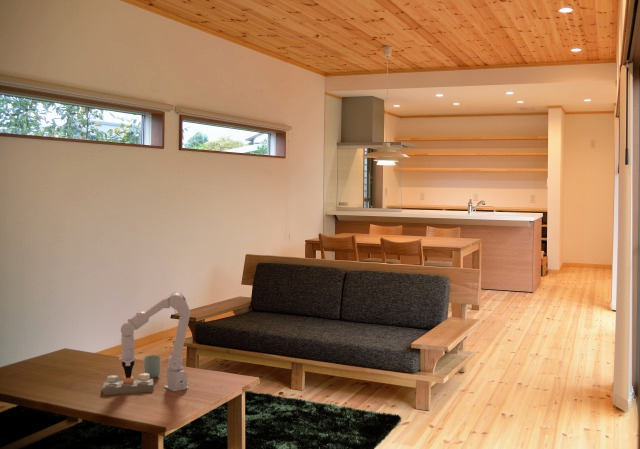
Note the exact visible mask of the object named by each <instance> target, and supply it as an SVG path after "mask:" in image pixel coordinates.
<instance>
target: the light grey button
mask: <svg viewBox="0 0 640 449" xmlns="http://www.w3.org/2000/svg"><path fill="white" fill-rule="evenodd" d="M118 381H119V375H114V374H112V375H108V376H107V377H106V382H107V383H110V384H112V383H117V382H118Z"/></svg>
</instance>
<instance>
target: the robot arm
mask: <svg viewBox="0 0 640 449" xmlns="http://www.w3.org/2000/svg"><path fill="white" fill-rule="evenodd" d="M170 308H172V309H173V310H175V311H176V312H177V313H178V315H179V320H178V324H177V328H176V333H175V337H174V338H175V339H174V341H173V347H172V351H171V353H170V354H169V355H168V362H167V370H166V371H167V374H166V375H167V376H166V377H167V385H164V386H163V388H166V390H167V389H168V390H170V391H172V392H179V391H182V390H183V391H184V390H186V389H189V388H190V387H189V386H188V374H187V372H186V371H185V370H184V366H183V355H182V354H183V350H184V346H185V340H186V336H187V332H188V326H189V321H190V318H191V309H190V307H189V305H188V302H187V300H186V297H185V296H184V295H183V294H182V293H181V292H179V291H175V292H172V293H171V294H169V295H167V296H165V297H164V298H162V299H161V300H159V301H158V302H156V303H155V304H154V305H153V306H151V307H150V308H148V310H146V311H138V312H136V313H135V315H134V316H132V317H131V318H127V321H125V322H123V323H122V326H121V327H120V333H121V342H120V343H121V346H120V347H121V357H119V358H118V360H119V361H121V366H122V367H123V370H124V375H125V376H126V378H131V376H132V373H133V369H134V366H135V360H136V357H135V333H134V332H135V331H137V330H138V329H140V328H142V327H143V326H145V324H147V323H149V321H150V318H151V317H152V316H154V315H156V314H157V313H159V312H160V311H161V310H163V309H170ZM125 376H124V377H125Z"/></svg>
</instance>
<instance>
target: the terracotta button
mask: <svg viewBox="0 0 640 449" xmlns="http://www.w3.org/2000/svg"><path fill="white" fill-rule="evenodd" d="M134 380H135V377H134V376H133V375H131V378H126V376H123V377H122V381H123V383H124V384H132V383H134Z"/></svg>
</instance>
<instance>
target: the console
mask: <svg viewBox="0 0 640 449" xmlns="http://www.w3.org/2000/svg"><path fill="white" fill-rule="evenodd" d="M148 392H149V393H150V392H154V378H150V380H148V381H139V379H134V383H132V384H124V383H123V380H118V382H117V383H112V384H110V383H107V381H103V386H102V395H103V396H107V395H109V396H110V395H120V394H136V393H148Z"/></svg>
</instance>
